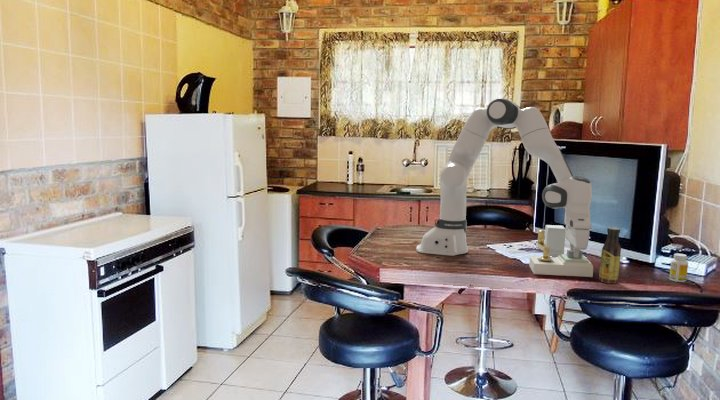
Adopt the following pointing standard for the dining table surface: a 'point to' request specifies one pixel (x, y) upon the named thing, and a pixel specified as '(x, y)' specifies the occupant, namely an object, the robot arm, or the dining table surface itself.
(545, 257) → the brass crank key
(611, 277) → the sauce bottle
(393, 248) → the dining table surface
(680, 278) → the supplement bottle
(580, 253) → the sage cover
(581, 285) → the dining table surface
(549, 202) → the robot arm
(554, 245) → the supplement box
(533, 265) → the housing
